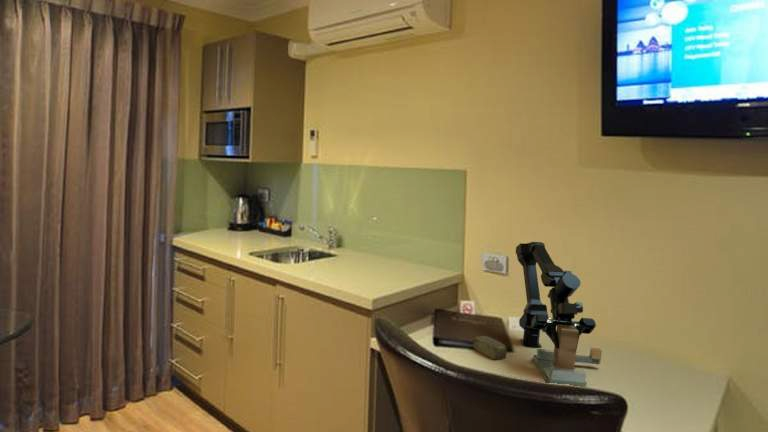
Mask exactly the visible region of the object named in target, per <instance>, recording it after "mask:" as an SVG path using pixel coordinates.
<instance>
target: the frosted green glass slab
mask: <svg viewBox="0 0 768 432" xmlns="http://www.w3.org/2000/svg"><path fill="white" fill-rule="evenodd" d="M536 355H537V354H533V355H532V361H533V362H534V363H535V365H536V366H537V368H538V369H539V371H540V372H541V374H542V375H543V377H544V378H545V380H546V382H547V383H548V384H549V383H557V384H569V385H574V386H573V387H575V386H586V387H587V381H586V377H587V372H586V371H585V370H584V369H577V368H575V367H574V369H564V368H555V367H554V365H553V364H552V363H553V360H547V359H538V358H537V357H536Z"/></svg>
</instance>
